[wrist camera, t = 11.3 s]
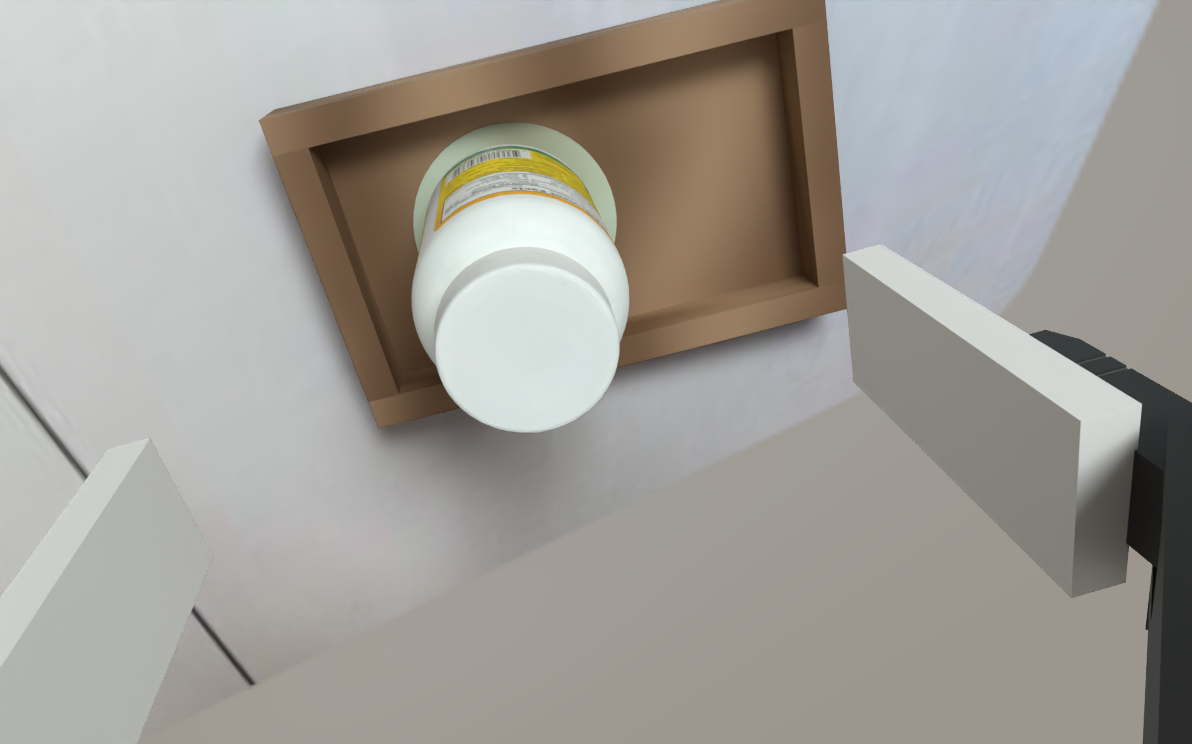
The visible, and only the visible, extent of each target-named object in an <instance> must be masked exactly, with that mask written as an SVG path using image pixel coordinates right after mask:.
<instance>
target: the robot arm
mask: <svg viewBox="0 0 1192 744" xmlns="http://www.w3.org/2000/svg"><path fill="white" fill-rule="evenodd" d="M843 267H844V278H845V290H846V301H847V313H848V325H849V336H850V348H851V359H852V371H853V382H854V383H855V384H856V385H857V386H858V387H859V388H860V389H861V390H862V391H863V392H864V393H865V394H866V395H867V396H868V397H869V398H870V399H871V400H872V401H874V403H876V405H877V406H879V408H880V409H882V410H883V411H884V412H885V413H886V414H887V415H888V416H889V417H890V418H891V419H892V420H893V421H894V422H895V423H896V424H897V425H898V426H899V427H900V428H901V429H902V430H903V431H904V432H905V433H906V434H907V435H908V436H909V437H910V438H911V439H912V440H913V441H914V442H915V443H916V444H917V445H918V446H919V447H920V448H921V449H922V450H923V451H924V452H925V453H926V454H927V455H928V456H929V457H930V458H931V459H932V460H933V461H934V462H935V463H936V464H937V465H938V466H939V467H940V468H941V469H942V470H943V471H944V472H945V473H946V474H947V475H948V476H949V477H950V478H951V479H952V480H953V481H954V482H955V483H956V484H957V485H958V486H959V487H960V488H961V489H962V490H963V491H964V492H965V493H966V494H967V495H968V496H969V497H970V498H971V499H972V500H973V501H974V502H975V503H976V504H977V505H978V506H979V507H980V508H981V509H982V510H983V511H984V512H985V513H986V514H987V515H988V516H989V517H990V518H991V519H992V520H993V521H994V522H995V523H996V524H997V525H998V526H999V527H1000V528H1001V529H1002V530H1003V531H1004V532H1005V533H1006V534H1007V535H1008V536H1009V537H1010V538H1011V539H1012V540H1013V541H1014V542H1016V544H1017V545H1018V546H1020V548H1021V549H1022V550H1023V551H1024V552H1025V553H1026V554H1028V555H1029V557H1030V558H1031V559H1032V560H1033V561H1034V562H1035V563H1036V564H1038V565H1039V566H1040V567H1041V569H1043V570H1044V572H1046V574H1047V575H1049V576H1050V577H1051V579H1053V581H1054V582H1056V584H1057V585H1059V586H1060V587H1061V588H1062V589H1063V590H1064V591H1065V592H1066V593H1067V594H1068V595H1069V596H1070V597H1071V598H1073V597H1076V596H1080V595H1084V594H1087V593H1090V592H1094V591H1097V590H1101V589H1104V588H1108V587H1111V586H1115V585H1118V584H1122V583H1125V582H1126V572H1127V562H1128V550H1129V546H1131V547H1132V548H1133V549H1134V550H1135V551H1137V552H1138V553H1139V554H1140V555H1141V556H1143V557H1144V558H1145V559H1146V560H1147V561H1149V562H1150V563H1151V564H1152V565H1153V566H1152V575H1151V585H1150V593H1149V603H1148V612H1147V621H1146V630H1148V645H1147V667H1146V687H1145V708H1144V729H1143V744H1192V403H1191V402H1189V401H1188V400H1186V399H1184V398H1182V397H1181V396H1179V395H1177V394H1175V393H1174V392H1172V391H1170V390H1168V389H1166V388H1165V387H1163V386H1161V385H1160V384H1158V383H1156V382H1154V381H1152V380H1150V379H1149V378H1147V377H1145V376H1144V375H1142V374H1140V373H1138V372H1137V371H1135V370H1133V369H1127V368H1126V365H1124V364H1123V363H1121V362H1119V361H1117V360H1116V359H1114V358H1112V357H1106V355H1105V353H1103V352H1101V351H1100V350H1098V349H1096V348H1095V347H1093V346H1091V345H1089V344H1087V343H1085V342H1084V341H1082V340H1080V339H1077V338H1074V337H1070V336H1066V335H1062V334H1059V333H1055V332H1051V331H1048V330H1043V331H1040V332H1037V333H1032V334H1029V335H1028V334H1027V333H1025V332H1024V331H1022V330H1020V329H1019V328H1017V327H1015V326H1014V325H1012V324H1010V323H1009V322H1007V321H1006V320H1004V319H1002V318H1001V317H999V316H997V315H996V314H994V313H993V312H991V311H989V310H988V309H986V308H984V307H983V306H981V305H979V304H978V303H976V302H975V301H973V300H971V299H970V298H968V297H966V296H965V295H963V294H962V293H960V292H958V291H957V290H955V289H953V288H952V287H950V286H948V285H947V284H945V283H944V282H942V281H940V280H939V279H937V278H935V277H934V276H932V275H930V274H929V273H927V272H926V271H924V270H922V269H921V268H919V267H917V266H916V265H914V264H912V263H911V262H909V261H908V260H906V259H904V258H903V257H901V256H899V255H898V254H896V253H895V252H893V251H891V250H890V249H888V248H886V247H885V246H883V245H881V244H880V245H877V246H873V247H869V248H865V249H862V250H858V251H854V252H850V253H846V254H843ZM213 557H214V555H213V553H212V552H211V550H210V548H209V546H208V544H207V542H206V540H205V539H204V537H203V535H202V533H201V531H200V529H199V527H198V525H197V524H196V522H195V520H194V518H193V516H192V514H191V512H190V511H189V509H188V507H187V505H186V503H185V501H184V499H183V497H182V496H181V494H180V492H179V490H178V488H177V486H176V484H175V483H174V481H173V479H172V477H171V475H170V473H169V471H168V469H167V468H166V466H165V464H164V462H163V460H162V458H161V456H160V455H159V453H158V451H157V449H156V447H155V445H154V443H153V442H152V440H151V438H148V439H144V440H140V441H137V442H133V443H129V444H125V445H121V446H118V447H114V448H110V449H108V450H107V452H106V453H105V454H104V456H103V457H102V458H101V460H100V461H99V462H98V464H97V465H96V467H95V468H94V469H93V471H92V472H91V473H90V475H89V476H88V478H87V479H86V480H85V482H84V483H83V484H82V486H81V487H80V489H79V490H78V491H77V493H76V494H75V495H74V497H73V498H72V500H71V501H70V502H69V504H68V505H67V506H66V508H65V509H64V511H63V512H62V513H61V515H60V516H59V517H58V519H57V520H56V522H55V523H54V524H53V526H52V527H51V528H50V530H49V531H48V533H47V534H46V535H45V537H44V538H43V539H42V541H41V542H40V544H39V545H38V546H37V548H36V549H35V550H34V552H33V553H32V555H31V556H30V557H29V559H28V560H27V561H26V563H25V564H24V566H23V567H22V568H21V570H20V571H19V572H18V574H17V575H16V577H15V578H14V579H13V581H12V582H11V583H10V585H9V586H8V587H7V589H6V590H5V592H4V593H3V594H2V596H1V597H0V744H137V742H138V740H139V737H140V735H141V733H142V730H143V728H144V725H145V723H146V720H147V718H148V715H149V713H150V711H151V708H152V706H153V703H154V701H155V698H156V696H157V693H158V691H159V689H160V686H161V684H162V681H163V679H164V676H165V674H166V672H167V669H168V667H169V664H170V662H171V659H172V657H173V654H174V652H175V650H176V647H177V645H178V642H179V640H180V637H181V635H182V632H183V630H184V628H185V625H186V623H187V620H188V618H189V615H190V613H191V610H192V608H193V606H194V603H195V601H196V598H197V596H198V593H199V591H200V588H201V586H202V584H203V581H204V579H205V576H206V574H207V571H208V569H209V567H210V564H211V562H212V559H213Z"/></svg>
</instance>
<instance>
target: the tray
mask: <svg viewBox="0 0 1192 744" xmlns="http://www.w3.org/2000/svg"><path fill="white" fill-rule="evenodd" d="M259 122H260V125H261V127H262V130H263V132H264V135H265V137H266V140H267V143H268V145H269V148H270V150H271V153H272V155H273V158H274V161H275V163H276V166H277V168H278V171H279V173H280V176H281V179H282V181H283V184H284V186H285V189H286V191H287V194H288V197H289V199H290V202H291V204H292V207H293V209H294V212H295V215H296V217H297V220H298V222H299V225H300V227H301V230H302V233H303V235H304V238H305V240H306V243H307V245H308V248H309V251H310V253H311V256H312V258H313V261H314V263H315V266H316V269H317V271H318V274H319V276H320V279H321V281H322V284H323V287H324V289H325V292H326V294H327V297H328V299H329V302H330V305H331V307H332V310H333V312H334V315H335V317H336V320H337V322H338V325H339V328H340V330H341V333H342V335H343V338H344V340H345V343H346V346H347V348H348V351H349V353H350V356H351V358H352V361H353V364H354V366H355V369H356V371H357V374H358V376H359V379H360V382H361V384H362V387H363V389H364V392H365V394H366V397H367V400H368V402H369V405H370V407H371V410H372V412H373V415H374V418H375V420H376V423H377V425H378V428H383V427H387V426H391V425H395V424H399V423H403V422H406V421H410V420H414V419H418V418H422V417H426V416H430V415H434V414H438V413H442V412H446V411H449V410H453V409H457V408H460V407H459V406H458V405H457V404H456V403H455V402H454V400H453V399H452V398H451V397H450V396H449V394H448V393H447V391H446V389H445V388H444V386H443V383H442V381H441V379H440V376H439V374H438V371H437V367H436V365H435V364H434V363H433V361H432V360H431V359H430V357H429V355H428V354H427V352H426V351H425V349H424V347H423V345H422V343H421V341H420V339H419V336H418V333H417V331H416V327H415V324H414V319H413V313H412V299H411V295H412V284H413V277H414V273H415V268H416V263H417V258H418V254H419V249H420V244H421V239H422V234H423V228H424V224H425V218H426V213H427V209H428V205H429V202H430V199H431V196H432V194H433V192H434V190H435V188H436V186H437V184H438V183H439V181H440V180H441V178H442V177H443V176H444V174H445V173H446V172H447V171H448V170H449V169H450V168H451V167H452V166H453V165H454V164H456V163H457V162H458V161H459V160H461V159H462V158H464V157H465V156H467V155H469V154H471V153H473V152H475V151H477V150H480V149H483V148H486V147H490V146H495V145H502V144H519V145H526V146H531V147H534V148H538V149H541V150H543V151H546V152H548V153H550V154H552V155H554V156H556V157H557V158H559V159H560V160H562V161H563V162H564V163H566V164H567V165H568V166H569V167H570V168H571V169H573V171H574V172H575V173H576V174H577V175H578V176H579V178H580V179H581V181H582V182H583V183H584V185H585V187H586V189H587V190H588V192H589V194H590V196H591V198H592V200H593V202H594V204H595V206H596V208H597V210H598V212H599V214H600V216H601V218H602V220H603V222H604V224H605V226H606V228H607V230H608V233H609V235H610V237H611V238H612V240H613V242H614V244H615V246H616V248H617V250H618V253H619V255H620V257H621V259H622V262H623V265H624V268H625V271H626V275H627V280H628V285H629V312H628V318H627V323H626V327H625V330H624V333H623V336H622V338H621V341H620V351H619V359H618V364H617V367H621V366H625V365H629V364H633V363H637V362H641V361H645V360H649V359H653V358H657V357H660V356H664V355H668V354H672V353H676V352H680V351H684V350H688V349H692V348H696V347H700V346H703V345H707V344H711V343H715V342H719V341H723V340H727V339H731V338H735V337H739V336H742V335H746V334H750V333H754V332H758V331H762V330H766V329H770V328H774V327H778V326H782V325H785V324H789V323H793V322H797V321H801V320H805V319H809V318H813V317H817V316H821V315H825V314H828V313H832V312H836V311H840V310H844V309H847V301H846V290H845V278H844V267H843V254H846V246H845V234H844V222H843V210H842V198H841V186H840V174H839V163H838V151H837V139H836V127H835V115H834V103H833V91H832V79H831V67H830V55H829V43H828V31H827V19H826V7H825V0H720V1H716V2H712V3H708V4H703V5H699V6H695V7H691V8H687V9H683V10H679V11H675V12H671V13H667V14H663V15H659V16H655V17H650V18H646V19H642V20H638V21H634V22H630V23H626V24H622V25H618V26H614V27H610V28H606V29H602V30H597V31H593V32H589V33H585V34H581V35H577V36H573V37H569V38H565V39H561V40H557V41H553V42H549V43H544V44H540V45H536V46H532V47H528V48H524V49H520V50H516V51H512V52H508V53H504V54H500V55H496V56H491V57H487V58H483V59H479V60H475V61H471V62H467V63H463V64H459V65H455V66H451V67H447V68H443V69H438V70H434V71H430V72H426V73H422V74H418V75H414V76H410V77H406V78H402V79H398V80H394V81H390V82H385V83H381V84H377V85H373V86H369V87H365V88H361V89H357V90H353V91H349V92H345V93H341V94H337V95H332V96H328V97H324V98H320V99H316V100H312V101H308V102H304V103H300V104H296V105H292V106H288V107H284V108H279V109H275V110H273V111H272V112H270V113H269V114H268V115H266V116H265V117H263V118H262V119H260V120H259Z"/></svg>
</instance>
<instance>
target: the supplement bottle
mask: <svg viewBox="0 0 1192 744" xmlns="http://www.w3.org/2000/svg"><path fill="white" fill-rule="evenodd" d="M411 299H412V313H413V319H414V324H415V327H416V331H417V333H418V336H419V339H420V341H421V343H422V345H423V347H424V349H425V351H426V352H427V354H428V355H429V357H430V359H431V360H432V361H433V363H434V364H435V365H436V367H437V371H438V374H439V376H440V379H441V381H442V383H443V386H444V388H445V389H446V391H447V393H448V394H449V396H450V397H451V398H452V399H453V400H454V402H455V403H456V404H457V405H458V406H459V407H460V408H461V409H462V410H464V411H465V412H466V413H467V414H468V415H470V416H471V417H473V418H475V419H476V420H478V421H480V422H481V423H484V424H486V425H488V426H491V427H494V428H497V429H500V430H504V431H510V432H520V433H536V432H543V431H547V430H552V429H555V428H558V427H561V426H564V425H566V424H568V423H570V422H572V421H574V420H576V419H578V418H579V417H581V416H582V415H583V414H585V413H586V412H587V411H589V410H590V409H591V408H592V407H593V406H594V405H595V404H596V403H597V402H598V401H599V400H600V398H601V397H602V396H603V395H604V393H605V392H606V390H607V389H608V387H609V385H610V383H611V381H612V379H613V377H614V375H615V372H616V368H617V364H618V359H619V351H620V341H621V338H622V336H623V333H624V330H625V327H626V323H627V318H628V312H629V285H628V280H627V275H626V271H625V268H624V265H623V262H622V259H621V257H620V255H619V253H618V250H617V248H616V246H615V244H614V242H613V240H612V238H611V237H610V235H609V233H608V230H607V228H606V226H605V224H604V222H603V220H602V218H601V216H600V214H599V212H598V210H597V208H596V206H595V204H594V202H593V200H592V198H591V196H590V194H589V192H588V190H587V189H586V187H585V185H584V183H583V182H582V181H581V179H580V178H579V176H578V175H577V174H576V173H575V172H574V171H573V169H571V168H570V167H569V166H568V165H567V164H566V163H564V162H563V161H562V160H560V159H559V158H557V157H556V156H554V155H552V154H550V153H548V152H546V151H543V150H541V149H538V148H534V147H531V146H526V145H519V144H502V145H495V146H490V147H486V148H483V149H480V150H477V151H475V152H473V153H471V154H469V155H467V156H465V157H464V158H462V159H461V160H459V161H458V162H457V163H456V164H454V165H453V166H452V167H451V168H450V169H449V170H448V171H447V172H446V173H445V174H444V176H443V177H442V178H441V180H440V181H439V183H438V184H437V186H436V188H435V190H434V192H433V194H432V196H431V199H430V202H429V205H428V209H427V213H426V218H425V224H424V228H423V234H422V239H421V244H420V249H419V254H418V258H417V263H416V268H415V273H414V277H413V284H412V295H411Z"/></svg>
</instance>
